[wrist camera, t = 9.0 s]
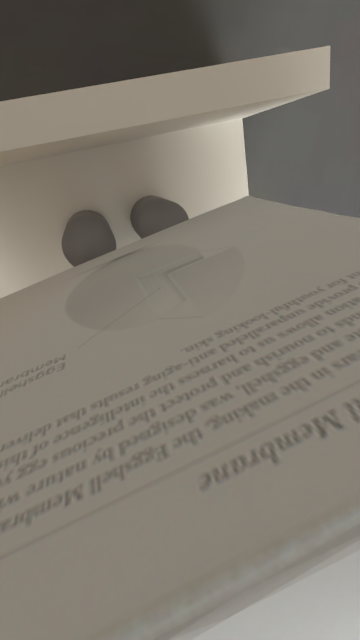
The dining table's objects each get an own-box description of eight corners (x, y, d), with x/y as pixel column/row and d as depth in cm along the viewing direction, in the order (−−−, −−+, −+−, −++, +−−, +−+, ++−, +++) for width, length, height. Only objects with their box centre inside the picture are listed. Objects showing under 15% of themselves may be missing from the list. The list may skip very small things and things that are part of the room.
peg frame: (60, 425, 20) (50, 537, 14) (-67, 152, 13) (-199, 134, 7) (256, 361, 22) (323, 435, 16) (231, 96, 15) (329, 45, 9)
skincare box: (65, 436, 14) (28, 957, 5) (-29, 307, 11) (-644, 1045, 2) (284, 335, 15) (616, 606, 6) (252, 191, 12) (854, 256, 3)
